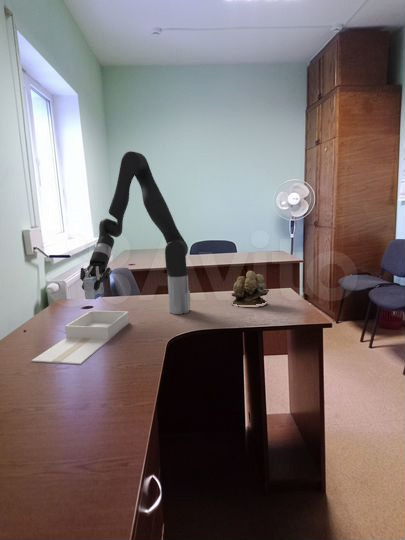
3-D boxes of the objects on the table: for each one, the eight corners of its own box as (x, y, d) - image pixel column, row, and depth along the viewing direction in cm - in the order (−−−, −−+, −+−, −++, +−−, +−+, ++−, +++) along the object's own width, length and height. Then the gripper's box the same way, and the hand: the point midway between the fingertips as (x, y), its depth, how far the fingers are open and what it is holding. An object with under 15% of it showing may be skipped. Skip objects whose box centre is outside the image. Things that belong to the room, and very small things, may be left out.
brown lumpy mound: (266, 301, 167) (267, 267, 164) (270, 308, 156) (271, 272, 152) (231, 301, 168) (230, 268, 165) (232, 308, 156) (232, 273, 153)
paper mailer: (129, 322, 141) (128, 311, 140) (80, 364, 103) (78, 349, 103) (92, 321, 144) (91, 310, 143) (31, 361, 107) (29, 346, 106)
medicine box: (94, 299, 136) (92, 279, 134) (85, 299, 137) (82, 278, 135) (104, 294, 143) (102, 275, 142) (95, 294, 144) (93, 275, 143)
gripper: (82, 251, 144) (69, 284, 134) (112, 250, 141) (101, 284, 131) (90, 261, 150) (78, 294, 140) (119, 260, 147) (109, 294, 138)
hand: (89, 289), depth 136 cm, fingers closed on medicine box, 4 cm apart
